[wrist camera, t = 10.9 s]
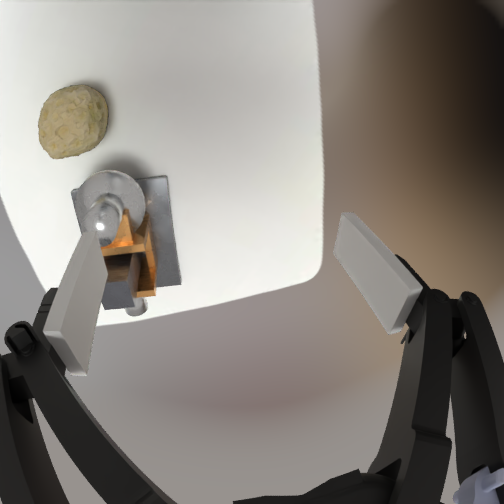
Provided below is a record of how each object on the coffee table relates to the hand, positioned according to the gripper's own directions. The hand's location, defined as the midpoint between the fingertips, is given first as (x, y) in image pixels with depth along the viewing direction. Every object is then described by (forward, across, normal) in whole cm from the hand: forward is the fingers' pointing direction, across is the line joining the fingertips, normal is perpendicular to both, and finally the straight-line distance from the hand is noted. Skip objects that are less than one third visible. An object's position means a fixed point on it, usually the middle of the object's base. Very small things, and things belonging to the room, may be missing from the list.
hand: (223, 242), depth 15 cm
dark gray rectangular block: (+25, -11, -14) cm, 31 cm away
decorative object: (+26, -16, +4) cm, 31 cm away
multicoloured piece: (+26, -11, -13) cm, 31 cm away
